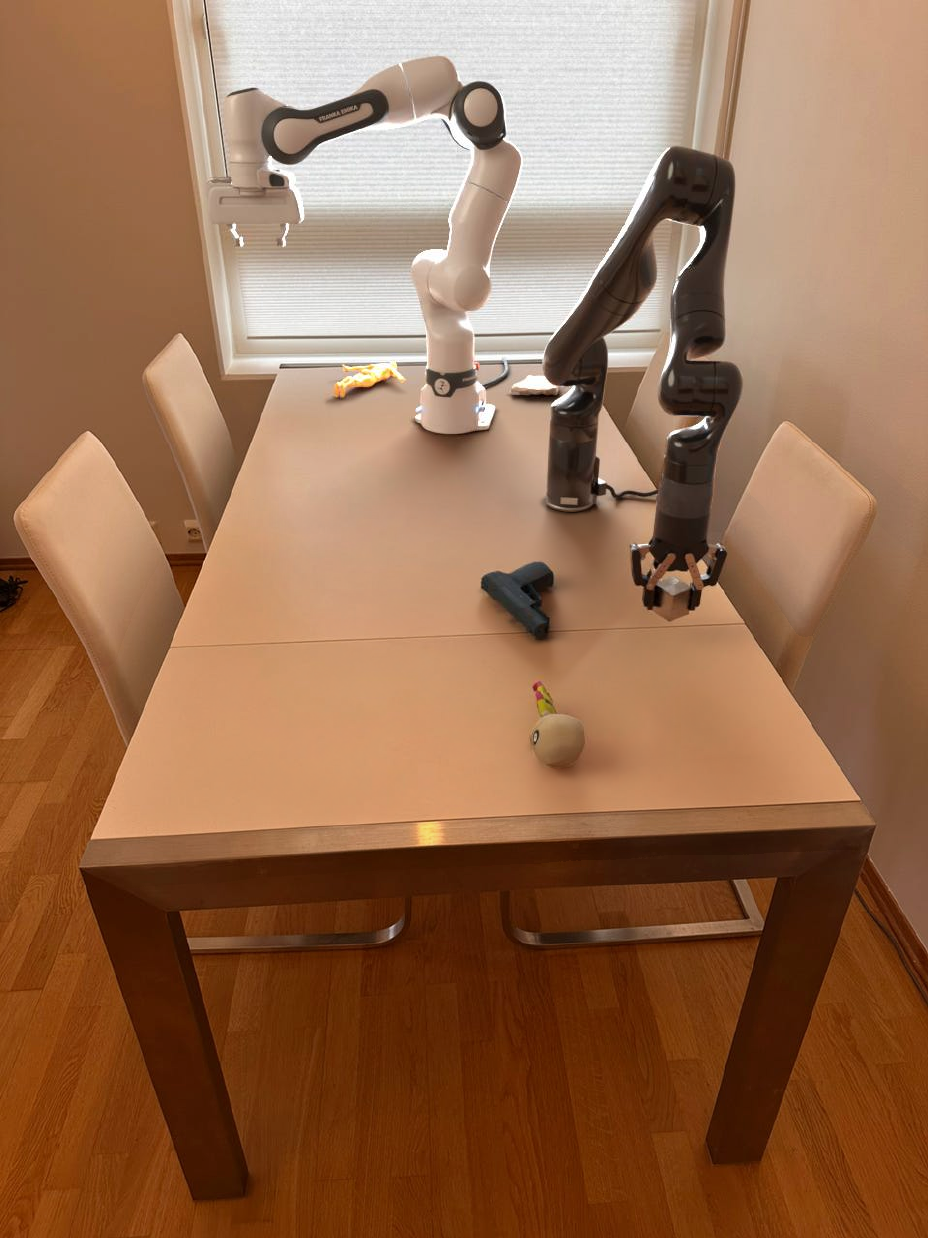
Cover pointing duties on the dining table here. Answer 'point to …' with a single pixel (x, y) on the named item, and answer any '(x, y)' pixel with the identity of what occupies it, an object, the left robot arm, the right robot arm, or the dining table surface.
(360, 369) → the human figure
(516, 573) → the handgun
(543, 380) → the stone
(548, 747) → the toy
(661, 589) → the block
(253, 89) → the left robot arm
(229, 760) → the dining table surface
